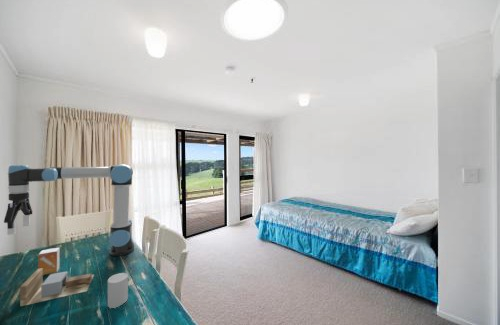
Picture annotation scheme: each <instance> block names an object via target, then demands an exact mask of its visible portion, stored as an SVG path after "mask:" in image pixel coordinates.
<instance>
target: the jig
mask: <svg viewBox="0 0 500 325" xmlns="http://www.w3.org/2000/svg"><path fill="white" fill-rule="evenodd" d="M94 276H95V274H92V280H93V279H94ZM43 278H44V275H43V268H41V269H38V268H37V269H36V270H35V271H34V272H33V273H32V274H31V275H30V276H29V277H28V278H27V279H26V280H25V281H24V282H23V283H22V284H20V285H21V286H20V287H19V298H20V299H19V301H20V302H19V304H20V305H19V306H20V307H24V306H27V305H28V306H29V305H32V304H36V303H42V302H46V301H50V300H54V299H55V300H56V299H58V298H59V299H60V298H64V297H67V296H72V295H76V294H77V295H78V294H80V293H81V294H82V293H85V292H87V291H88V290H89V287H90V285H91V283H90V284H89V285H87V284H82V285H78V286H73V287H68V288H65V285H62V292H61V293H59V294H55V295H50V296H46V297H41V285H42V284H43V283H44V279H43Z"/></svg>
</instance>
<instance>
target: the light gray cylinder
mask: <svg viewBox="0 0 500 325" xmlns="http://www.w3.org/2000/svg"><path fill="white" fill-rule="evenodd" d="M127 299H128V300H129V274H128V273H126V272H119V273H115V274H113V275H111V276H109V278H108V279H107V308H108V307H109V309H111V308H114V309H117V308H116V307H118V306H120V305H122V304H123V303H125V302H126V301H127ZM127 302H128V301H127ZM127 302H126V303H127ZM126 303H125V304H126ZM118 308H119V307H118Z"/></svg>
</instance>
